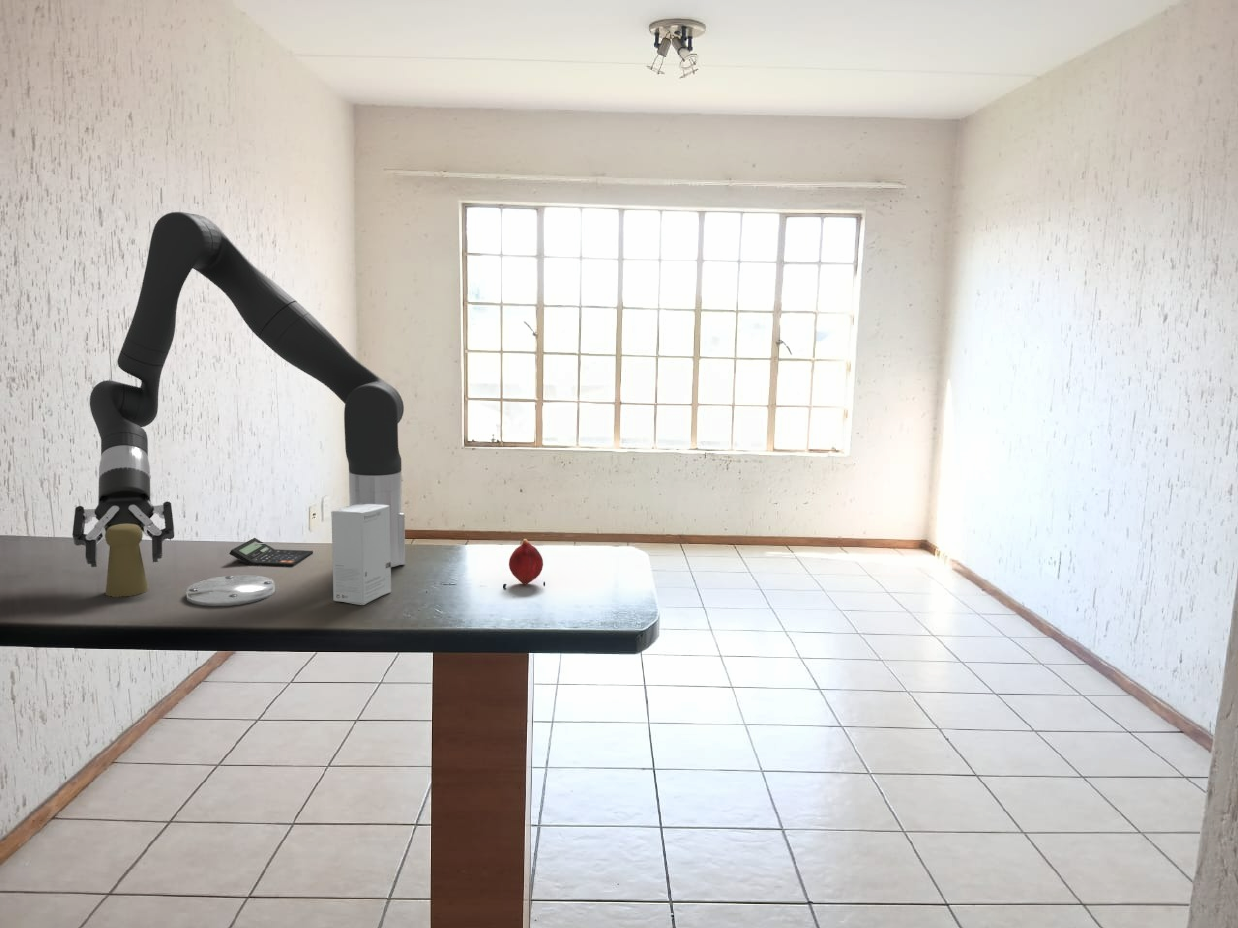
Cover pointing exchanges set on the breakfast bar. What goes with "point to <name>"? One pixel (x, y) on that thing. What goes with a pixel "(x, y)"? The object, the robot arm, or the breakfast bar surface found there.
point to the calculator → (268, 554)
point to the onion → (526, 563)
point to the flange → (230, 590)
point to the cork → (125, 561)
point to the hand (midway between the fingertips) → (124, 562)
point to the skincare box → (361, 553)
